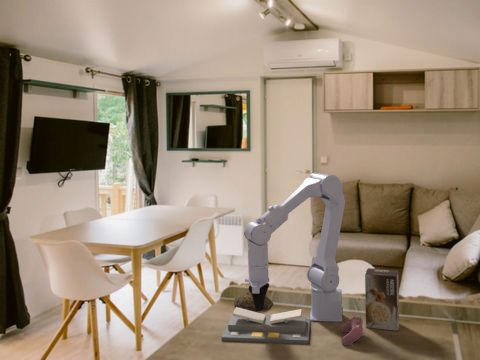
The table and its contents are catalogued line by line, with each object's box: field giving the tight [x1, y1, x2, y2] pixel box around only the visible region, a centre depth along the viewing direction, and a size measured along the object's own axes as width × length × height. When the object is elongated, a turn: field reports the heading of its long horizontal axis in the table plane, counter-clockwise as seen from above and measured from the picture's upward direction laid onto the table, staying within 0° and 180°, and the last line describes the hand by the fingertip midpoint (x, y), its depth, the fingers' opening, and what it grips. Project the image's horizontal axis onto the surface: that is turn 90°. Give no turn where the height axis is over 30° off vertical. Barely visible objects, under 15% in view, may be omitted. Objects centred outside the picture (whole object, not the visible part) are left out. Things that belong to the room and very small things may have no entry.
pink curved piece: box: [340, 315, 364, 346], centre depth 143 cm, size 10×5×7 cm, turn 169°
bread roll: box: [233, 291, 274, 312], centre depth 172 cm, size 13×12×5 cm
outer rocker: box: [232, 307, 266, 324], centre depth 152 cm, size 9×5×1 cm, turn 82°
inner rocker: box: [270, 308, 303, 324], centre depth 151 cm, size 9×5×1 cm, turn 80°
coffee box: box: [364, 267, 400, 331], centre depth 151 cm, size 9×6×16 cm
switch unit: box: [220, 314, 311, 345], centre depth 150 cm, size 24×15×2 cm, turn 81°
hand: (259, 309), depth 152 cm, fingers closed
